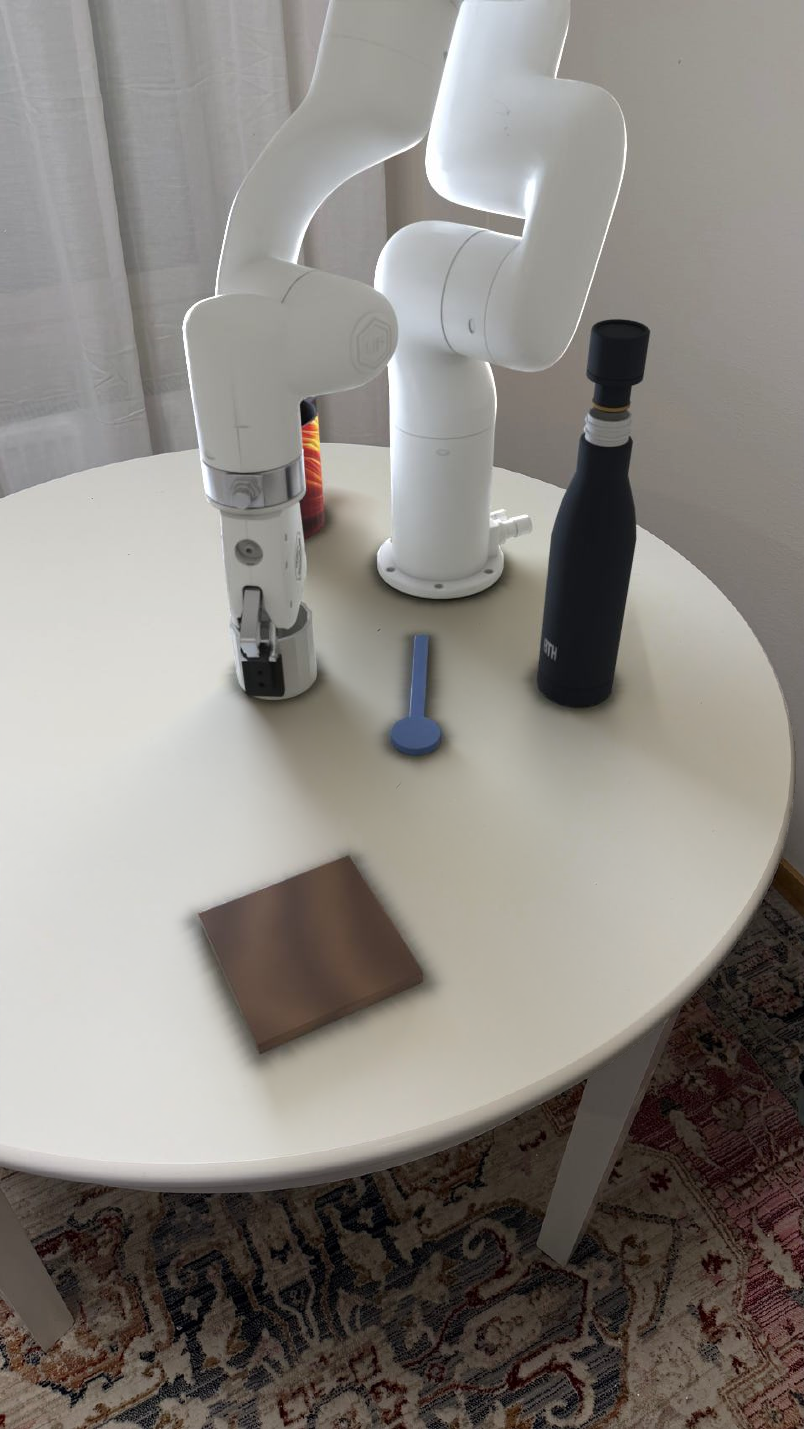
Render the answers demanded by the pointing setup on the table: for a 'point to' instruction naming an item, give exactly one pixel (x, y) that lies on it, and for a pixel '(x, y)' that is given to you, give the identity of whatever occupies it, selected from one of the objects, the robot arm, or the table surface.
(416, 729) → the spoon
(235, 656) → the pot
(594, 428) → the insulated water bottle
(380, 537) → the table surface
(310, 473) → the mug
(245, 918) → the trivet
